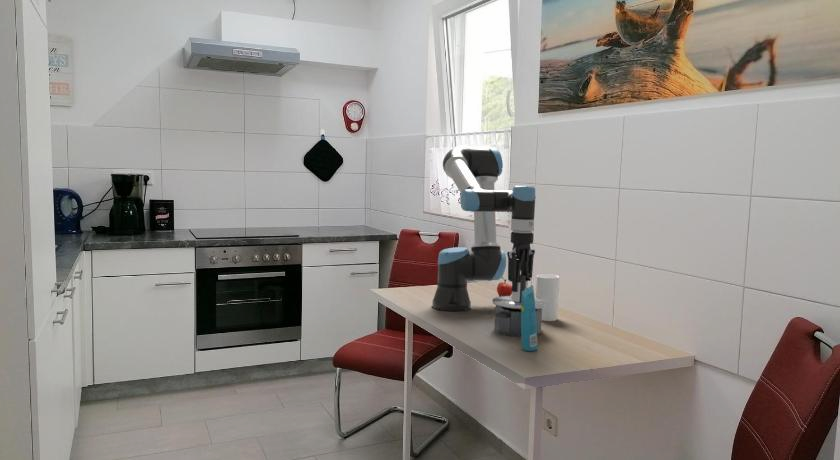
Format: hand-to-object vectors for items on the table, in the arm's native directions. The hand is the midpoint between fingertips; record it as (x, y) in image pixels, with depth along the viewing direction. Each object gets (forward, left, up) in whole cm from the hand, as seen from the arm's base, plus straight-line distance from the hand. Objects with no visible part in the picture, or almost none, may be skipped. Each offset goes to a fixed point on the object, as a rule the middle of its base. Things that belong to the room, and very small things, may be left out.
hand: (519, 300), depth 210 cm
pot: (0, 0, -11) cm, 11 cm away
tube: (+15, -16, -10) cm, 24 cm away
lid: (0, 0, -1) cm, 1 cm away
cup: (-3, +23, -11) cm, 26 cm away
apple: (-34, +40, -11) cm, 53 cm away
